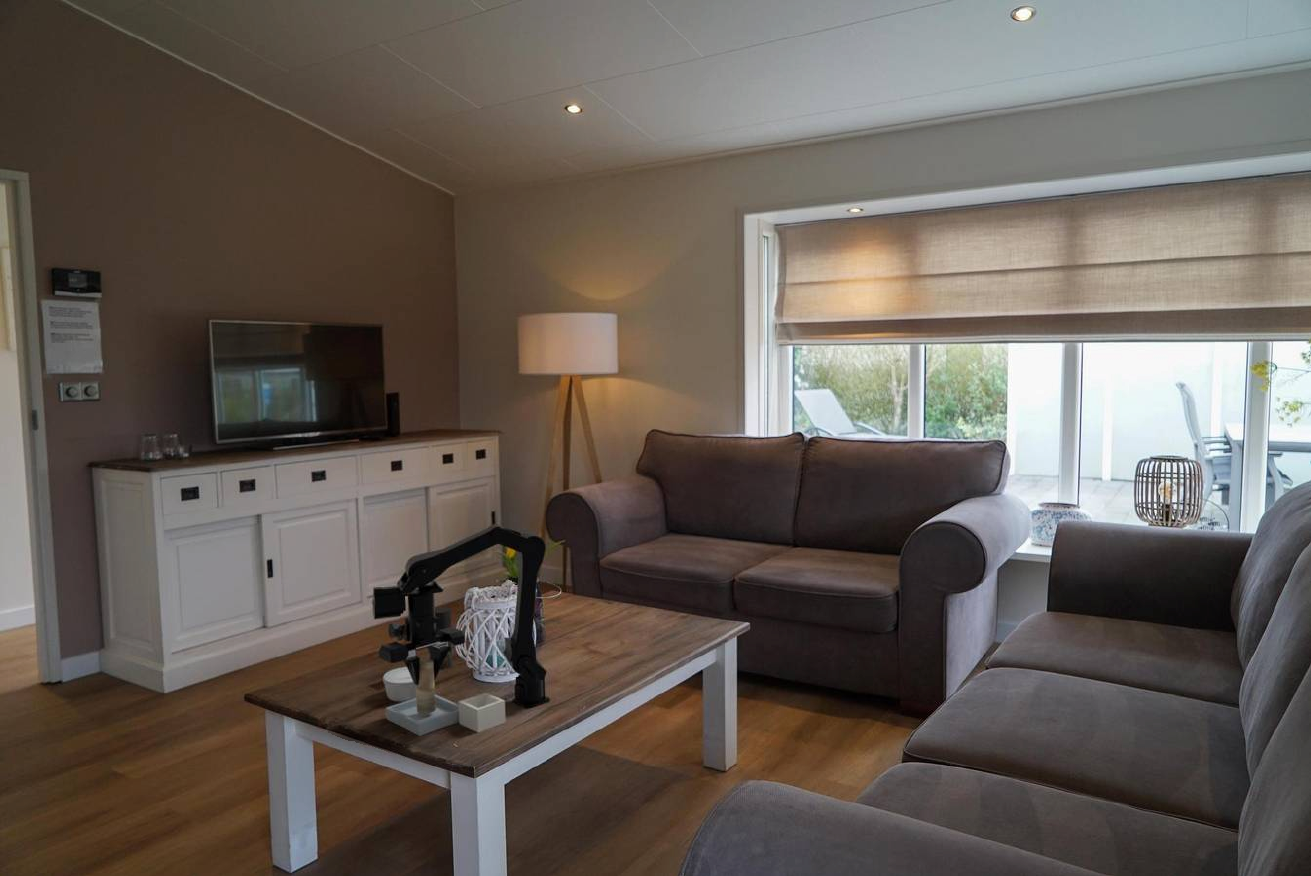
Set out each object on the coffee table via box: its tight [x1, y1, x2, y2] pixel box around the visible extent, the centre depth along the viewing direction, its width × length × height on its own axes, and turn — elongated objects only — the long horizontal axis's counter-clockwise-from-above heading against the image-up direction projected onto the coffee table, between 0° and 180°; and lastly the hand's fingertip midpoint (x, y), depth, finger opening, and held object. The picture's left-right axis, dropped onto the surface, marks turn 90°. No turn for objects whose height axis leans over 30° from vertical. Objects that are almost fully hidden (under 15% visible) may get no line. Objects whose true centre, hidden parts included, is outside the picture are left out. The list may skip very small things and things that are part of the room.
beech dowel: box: [416, 658, 436, 714], centre depth 200 cm, size 4×4×11 cm
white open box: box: [458, 692, 507, 733], centre depth 197 cm, size 7×7×5 cm
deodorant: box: [435, 606, 454, 670], centre depth 235 cm, size 6×6×15 cm
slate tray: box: [385, 693, 459, 737], centre depth 200 cm, size 12×14×2 cm
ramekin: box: [382, 666, 416, 703], centre depth 215 cm, size 11×11×5 cm
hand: (424, 681), depth 200 cm, fingers closed on beech dowel, 4 cm apart
